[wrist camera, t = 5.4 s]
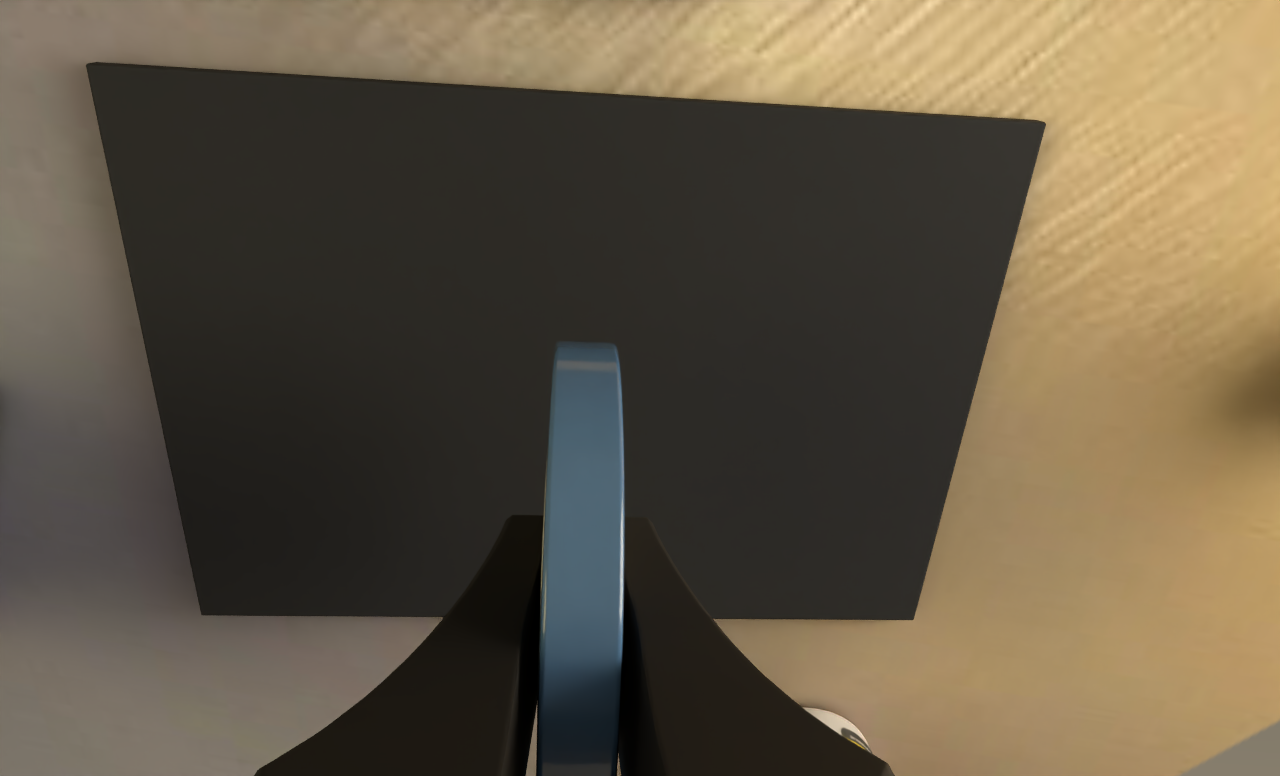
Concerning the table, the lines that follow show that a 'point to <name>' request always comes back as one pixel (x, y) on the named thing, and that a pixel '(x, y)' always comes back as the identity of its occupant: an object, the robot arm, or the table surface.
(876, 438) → the placemat
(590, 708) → the plate
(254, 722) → the table surface
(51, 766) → the table surface
